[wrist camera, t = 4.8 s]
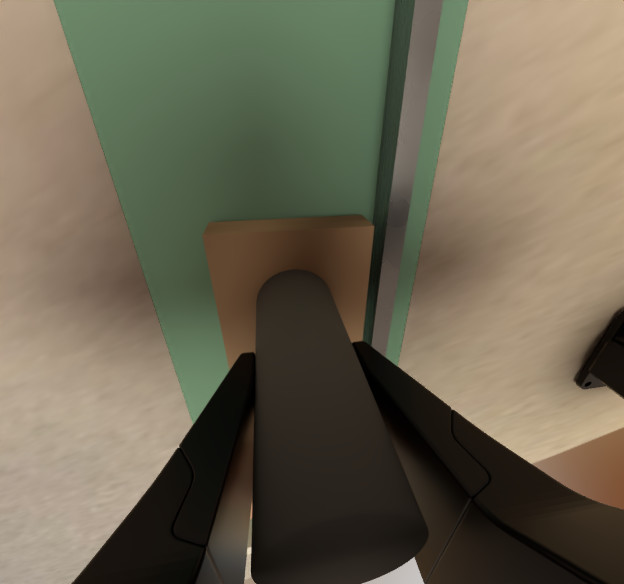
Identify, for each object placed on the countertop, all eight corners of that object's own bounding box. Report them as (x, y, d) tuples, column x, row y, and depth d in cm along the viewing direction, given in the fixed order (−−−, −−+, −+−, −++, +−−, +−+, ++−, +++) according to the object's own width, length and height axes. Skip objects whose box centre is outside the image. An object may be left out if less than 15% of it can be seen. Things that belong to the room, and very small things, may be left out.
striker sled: (361, 214, 12) (581, 417, 4) (344, 430, 19) (407, 662, 11) (208, 222, 11) (69, 496, 3) (250, 444, 18) (242, 705, 10)
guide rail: (447, -206, 7) (488, -277, 6) (364, 417, 19) (372, 438, 18) (416, -210, 7) (451, -282, 6) (352, 418, 19) (359, 440, 18)
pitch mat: (494, -158, 8) (500, -164, 8) (373, 483, 24) (374, 486, 24) (-16, -223, 6) (-24, -233, 6) (222, 509, 22) (222, 512, 22)
